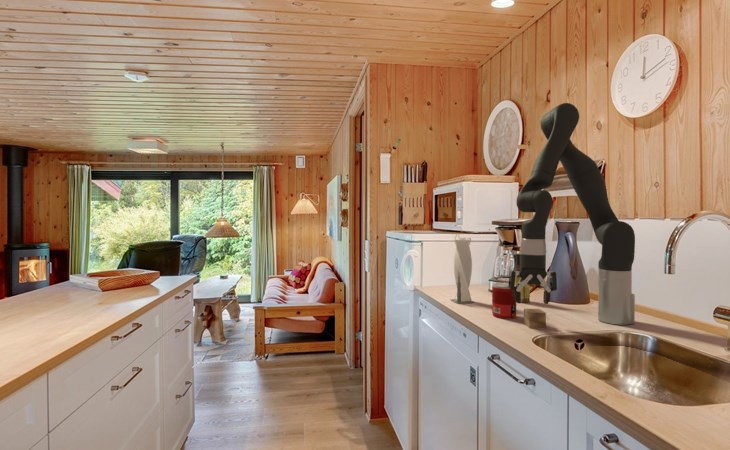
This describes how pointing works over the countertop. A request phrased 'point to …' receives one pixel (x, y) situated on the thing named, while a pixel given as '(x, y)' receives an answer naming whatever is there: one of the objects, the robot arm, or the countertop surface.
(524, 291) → the sauce bottle
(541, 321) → the walnut cube
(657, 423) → the countertop surface
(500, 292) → the canned food
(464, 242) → the skyscraper
